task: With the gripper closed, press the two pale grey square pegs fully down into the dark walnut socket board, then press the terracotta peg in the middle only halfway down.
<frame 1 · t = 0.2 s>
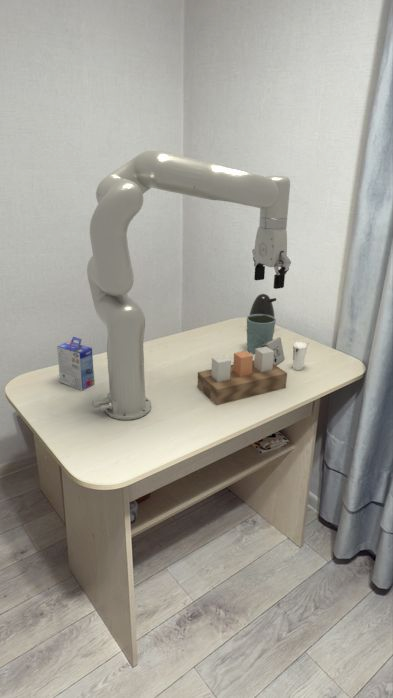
hand: (268, 283, 136), 31 cm above the table, fingers open, 9 cm apart
grey peg left: (220, 369, 136), point 8 cm above the table, slide at 0.0 cm
ink cartridge box: (77, 383, 144), on the table
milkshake: (298, 369, 155), on the table
teal plant pot: (258, 350, 169), on the table
socket board: (241, 387, 142), on the table
pump dispenser: (261, 331, 186), on the table
terracotta peg: (242, 364, 139), point 8 cm above the table, slide at 0.0 cm
electrical switch: (272, 362, 159), on the table
grey peg right: (263, 359, 142), point 8 cm above the table, slide at 0.0 cm
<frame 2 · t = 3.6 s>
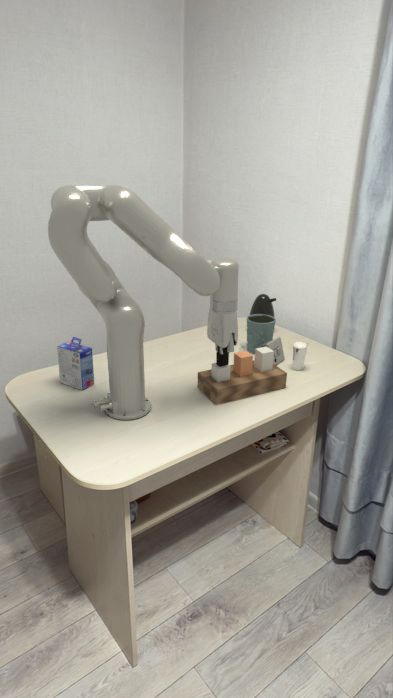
hand: (222, 364, 136), 9 cm above the table, fingers closed
grey peg left: (220, 375, 137), point 6 cm above the table, slide at 2.0 cm, touching gripper
everything else where it was.
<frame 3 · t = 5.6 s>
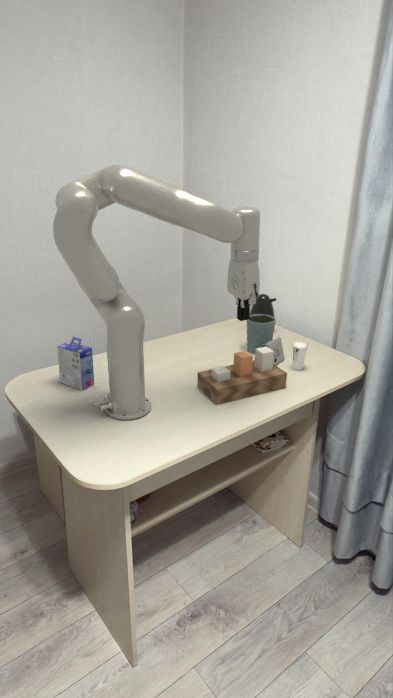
hand: (243, 319, 133), 22 cm above the table, fingers closed
grey peg left: (220, 379, 138), point 4 cm above the table, slide at 3.5 cm
everything else where it was.
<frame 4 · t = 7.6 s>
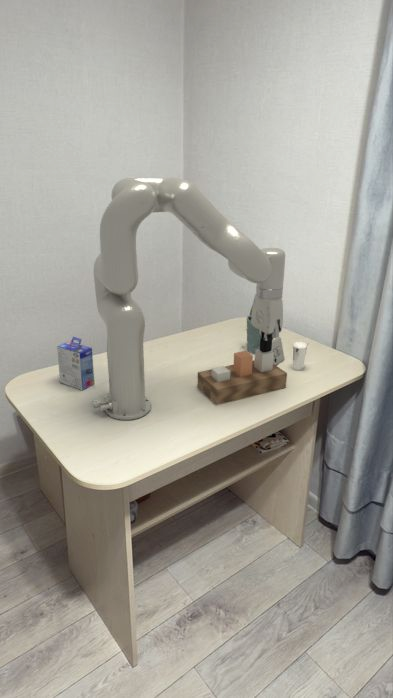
hand: (265, 350, 141), 11 cm above the table, fingers closed
grey peg right: (263, 360, 143), point 7 cm above the table, slide at 0.4 cm, touching gripper
everything else where it was.
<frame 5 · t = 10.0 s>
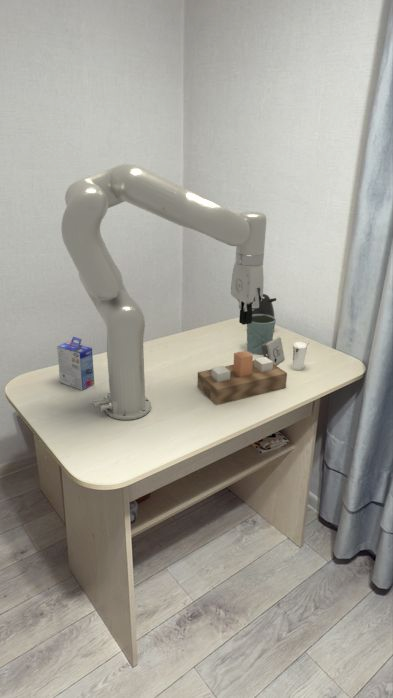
hand: (245, 323, 134), 21 cm above the table, fingers closed
grey peg right: (263, 370, 144), point 4 cm above the table, slide at 3.5 cm
everything else where it was.
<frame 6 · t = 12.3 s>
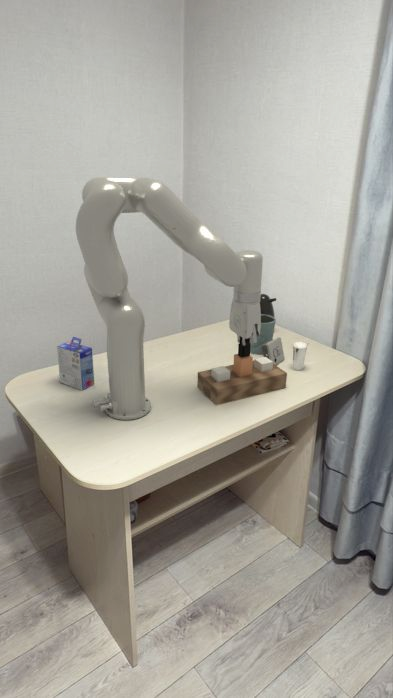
hand: (244, 355, 138), 11 cm above the table, fingers closed
terracotta peg: (242, 365, 140), point 7 cm above the table, slide at 0.5 cm, touching gripper
everything else where it was.
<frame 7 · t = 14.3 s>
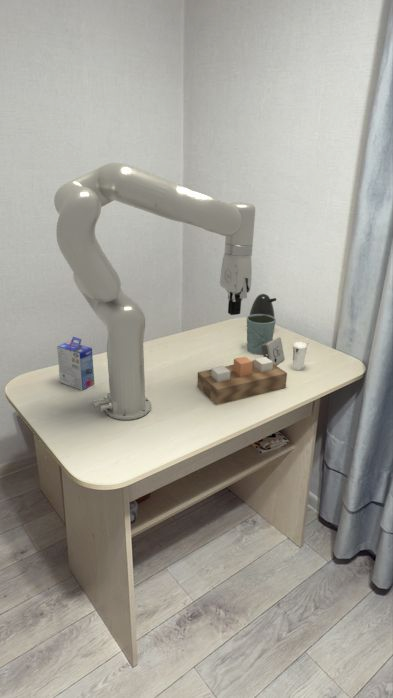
hand: (234, 313, 135), 23 cm above the table, fingers closed
terracotta peg: (242, 370, 140), point 6 cm above the table, slide at 1.9 cm
everything else where it was.
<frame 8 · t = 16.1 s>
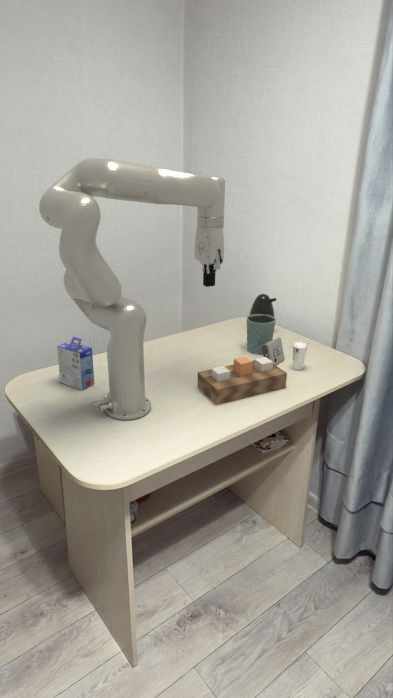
hand: (209, 285, 139), 29 cm above the table, fingers closed
nothing on the table moved.
at the end: grey peg left slide at 3.5 cm; grey peg right slide at 3.5 cm; terracotta peg slide at 1.9 cm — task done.
